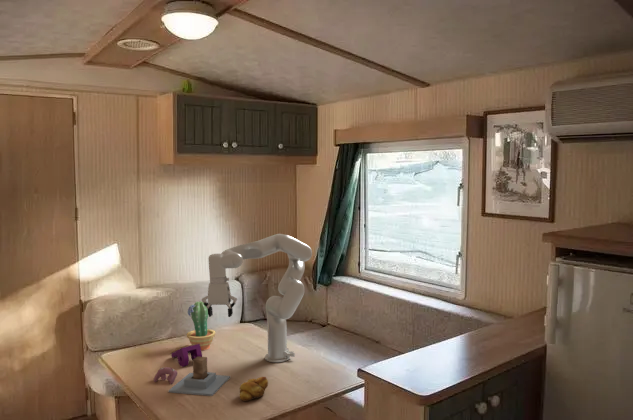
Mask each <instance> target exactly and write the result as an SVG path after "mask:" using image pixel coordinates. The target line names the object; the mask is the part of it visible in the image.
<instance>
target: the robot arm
mask: <svg viewBox="0 0 633 420" xmlns="http://www.w3.org/2000/svg"><path fill="white" fill-rule="evenodd" d="M278 252H283V253H285V254H287V255H286V256H287V258H288V266H287V269H286V271H285V273H284V274H283V276H282V278H281V280H280V282H279V283H278V287H277V290H278V292H279V294H281V295H282V296H283V297H282V296H280V295H272V296H270V297H269V298H268V299H266V303H265V313H266V321H267V324H266V325H267V354H266V355H265V356H264V360H265V361H267V362H269V363H284V362H287V361H289V360H290V359H291V358H293V357H295V356H296V353H295V352H294V351H293V350H292V351H290V350H289V348H287V346H288V345H287V343H288V341H287V340H288V338H287V334H288V333H287V331H288V329H287V320H288V319H290V318H292V317H293V315H294V313H295V312H296V310H297V309H298V307H299V305H300V303H301V301H302V299H303V297H304V294H305V285H304V283H303V282H302V281H301V279H302V278H303V276H304V273H305V270H306V269H305V265H306V264H305V262H308V261H309V260H311V258H312V256H313V249H312V248H311V247H310V246H309V245H308V244H306V243H304V242H302V241H300V240H299V239H297V238H294V237H293V236H290V235H289V234H283V233H277V234H276V233H275V234H274V235H270V236H267V237H264V238H262V239H259V240H256V241H251V242H248V243H245V244H243V243H242V244H240V245H237V246H236V245H235V246H233V247H230V248H228V249H225V250H223V251H222V252H221V253H212V254H209V256H208V272H209V273H208V274H209V283H208V287H207V295H206V296H204V297H202V298H201V302H203V303H204V305H205V306H206V308H207V309H208V318H210V317H212V316H213V312H214V311H213V307H212V305H213V306H217V305H218V306H222V305H223V306H225V305H226V306H227V315H228V316H227V317H228V318H230V317H232V316H233V315H234V313H233V308H234V306H235V305H236V303H237V301H238V298H237V297H235V296H233V295H232V294H231V289H230V284H229V282H228V281H230V278H229V277H227V273H226V272H227V270H226V269H237V268H239V267H241V266H242V265H243V261H244V260H249V259H250V260H251V259H255V260H256V259H262V258H265V257H268V256H270V255H273V254H276V253H278Z"/></svg>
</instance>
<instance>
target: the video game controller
mask: <svg viewBox="0 0 633 420" xmlns="http://www.w3.org/2000/svg"><path fill="white" fill-rule="evenodd" d="M177 376H178V371H177V370H176V369H174V368H173V367H169V366H167V367H160V368H159V369H158V370H157V372H156V374H155V375H154V377H153V382H154V383H156V382H157V381H159V380H162V381H165V380H167V381H168V382H169V384H170V385H173V384H174V382H175V381H176V378H177Z"/></svg>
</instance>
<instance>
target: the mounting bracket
mask: <svg viewBox="0 0 633 420" xmlns="http://www.w3.org/2000/svg"><path fill="white" fill-rule="evenodd" d="M189 354H190V357H189ZM170 355H171V359H176V358H177V363H178V365H179V366H180V367H182V368H183V367H186V366H187V367H188V365H189V363H190V359H191V361H192V362H193V359H195V358H196V357H197V356H198V357H203V353H202V350H201V347H200V344H196V345H192V344H191V345H188V346H185V347H181V348H179V349H177V350H176V351H173V352H172V353H170Z"/></svg>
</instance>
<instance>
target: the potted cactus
mask: <svg viewBox="0 0 633 420" xmlns="http://www.w3.org/2000/svg"><path fill="white" fill-rule="evenodd" d="M187 315H188V316H189V317H190V318H191V320H192V323H193V325H194V326H193V327H194V330H191V331H188V332H186V338H187V339H188V341H189V343H190V344H191V346H192V345H196V344H200V347H201V351H207V350H209V349H210V348H211V344H212V342H213V339H214V337H215V335H216V331H215V330H214V329H208V318H209V315H208V309H207V308H206V306H205V305H204V303H203V302H202V300H199V301H195V302H194V303H193V304H191V305H189V307H188V309H187Z"/></svg>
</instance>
